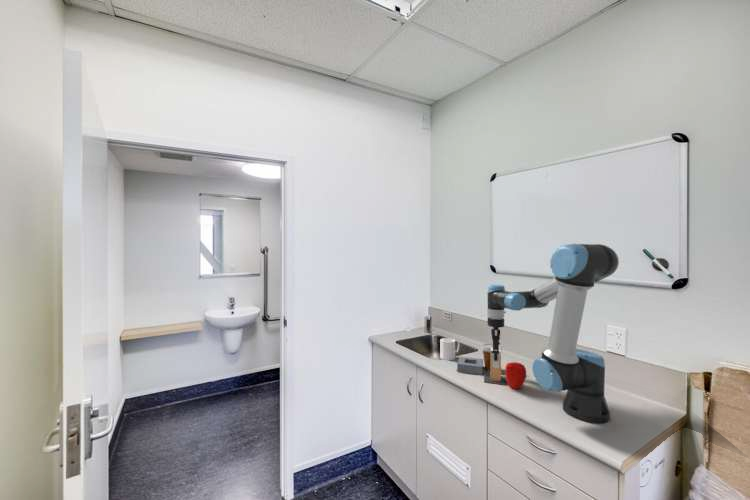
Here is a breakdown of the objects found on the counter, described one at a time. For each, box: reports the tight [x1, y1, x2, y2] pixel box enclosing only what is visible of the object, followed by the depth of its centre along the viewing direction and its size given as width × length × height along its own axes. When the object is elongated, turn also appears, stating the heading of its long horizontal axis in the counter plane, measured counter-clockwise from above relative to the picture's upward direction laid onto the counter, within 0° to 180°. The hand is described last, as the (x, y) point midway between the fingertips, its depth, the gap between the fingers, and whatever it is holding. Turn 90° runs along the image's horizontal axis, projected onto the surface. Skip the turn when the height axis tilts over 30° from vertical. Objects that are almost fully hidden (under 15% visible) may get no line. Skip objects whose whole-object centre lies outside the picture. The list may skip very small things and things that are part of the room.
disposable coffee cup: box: [481, 343, 502, 372], centre depth 167 cm, size 10×10×12 cm
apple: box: [504, 361, 527, 390], centre depth 146 cm, size 9×9×11 cm
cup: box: [439, 337, 461, 361], centre depth 186 cm, size 8×12×10 cm
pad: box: [483, 373, 508, 387], centre depth 154 cm, size 10×10×1 cm
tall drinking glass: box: [489, 348, 502, 382], centre depth 154 cm, size 5×5×14 cm
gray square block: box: [456, 356, 484, 376], centre depth 168 cm, size 12×12×4 cm
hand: (495, 362), depth 154 cm, fingers open, 13 cm apart
